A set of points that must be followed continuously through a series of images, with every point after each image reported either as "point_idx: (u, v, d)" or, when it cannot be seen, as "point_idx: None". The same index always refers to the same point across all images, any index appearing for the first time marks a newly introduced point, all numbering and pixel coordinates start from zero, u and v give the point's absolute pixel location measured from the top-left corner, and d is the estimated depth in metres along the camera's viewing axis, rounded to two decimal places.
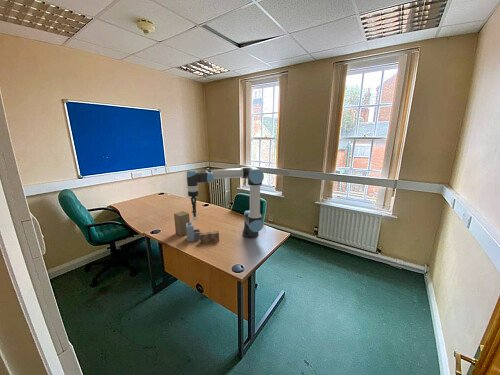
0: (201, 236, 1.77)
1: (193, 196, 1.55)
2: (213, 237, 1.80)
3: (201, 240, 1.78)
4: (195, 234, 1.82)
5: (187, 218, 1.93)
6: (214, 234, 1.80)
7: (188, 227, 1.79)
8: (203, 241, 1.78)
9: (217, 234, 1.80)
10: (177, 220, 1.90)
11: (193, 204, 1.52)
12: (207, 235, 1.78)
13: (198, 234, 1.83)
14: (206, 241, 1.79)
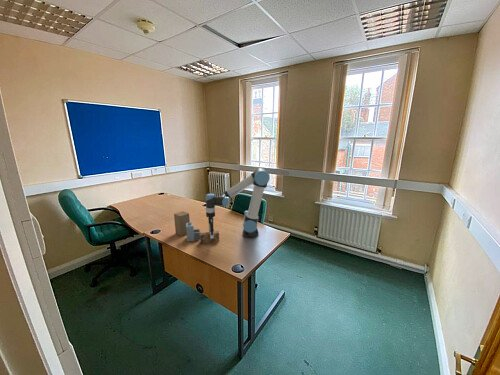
0: (201, 236, 1.77)
1: (211, 217, 1.73)
2: None
3: (201, 240, 1.78)
4: (195, 234, 1.82)
5: (187, 218, 1.93)
6: (214, 234, 1.80)
7: (188, 227, 1.79)
8: (203, 241, 1.78)
9: (217, 234, 1.80)
10: (177, 220, 1.90)
11: (211, 224, 1.71)
12: (207, 235, 1.78)
13: (198, 234, 1.83)
14: (206, 241, 1.79)
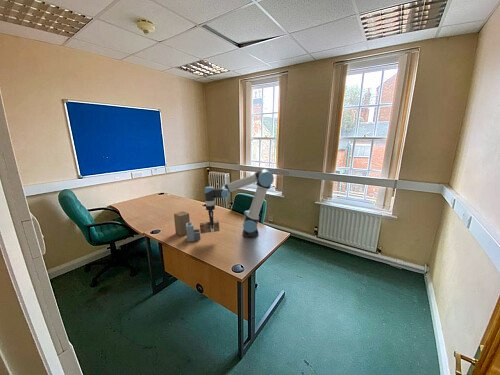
0: (201, 226, 1.75)
1: (211, 210, 1.72)
2: None
3: (201, 230, 1.75)
4: (195, 234, 1.82)
5: (187, 218, 1.93)
6: (214, 224, 1.77)
7: (188, 227, 1.79)
8: (203, 231, 1.76)
9: (217, 224, 1.78)
10: (177, 220, 1.90)
11: (211, 218, 1.71)
12: (207, 225, 1.76)
13: (198, 234, 1.83)
14: (206, 231, 1.77)
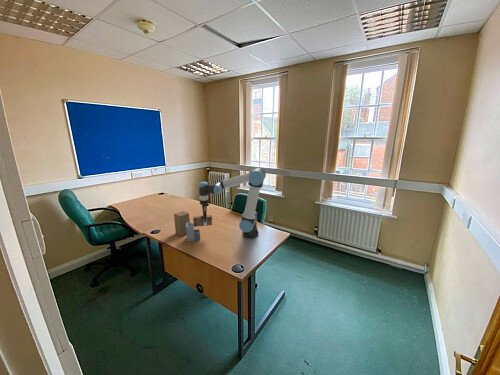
0: (194, 219, 1.81)
1: (204, 204, 1.79)
2: None
3: (194, 223, 1.82)
4: (195, 234, 1.82)
5: (187, 218, 1.93)
6: (207, 218, 1.84)
7: (188, 227, 1.79)
8: (196, 224, 1.83)
9: (210, 218, 1.85)
10: (177, 220, 1.90)
11: (204, 212, 1.78)
12: (200, 218, 1.82)
13: (198, 234, 1.83)
14: (199, 224, 1.83)
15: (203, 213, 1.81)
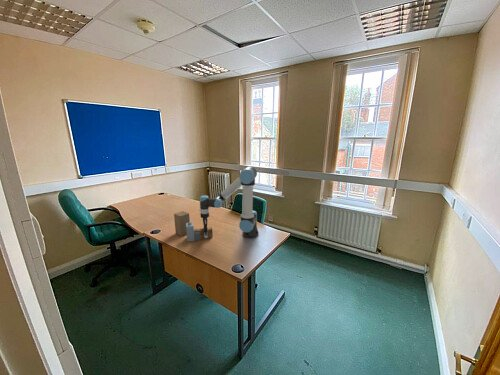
0: None
1: (205, 218, 1.82)
2: (207, 233, 1.87)
3: None
4: (195, 234, 1.82)
5: (187, 218, 1.93)
6: (208, 230, 1.87)
7: (188, 227, 1.79)
8: None
9: (210, 230, 1.88)
10: (177, 220, 1.90)
11: (205, 226, 1.81)
12: (201, 231, 1.85)
13: (198, 234, 1.83)
14: (200, 237, 1.86)
15: (204, 226, 1.84)
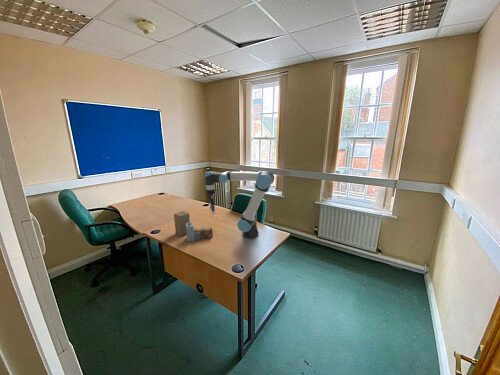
0: None
1: (211, 194, 1.79)
2: (207, 233, 1.87)
3: None
4: (195, 234, 1.82)
5: (187, 218, 1.93)
6: (208, 230, 1.87)
7: (188, 227, 1.79)
8: None
9: (211, 230, 1.88)
10: (177, 220, 1.90)
11: (211, 200, 1.76)
12: (201, 231, 1.85)
13: (198, 234, 1.83)
14: (200, 237, 1.87)
15: (210, 202, 1.78)
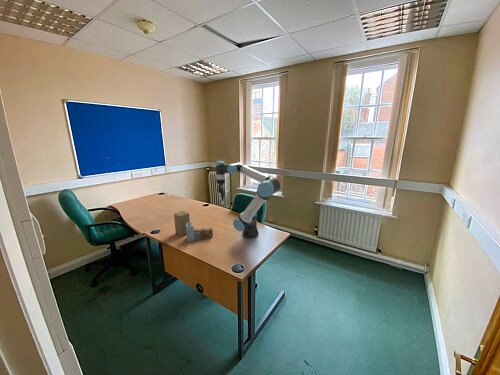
0: None
1: (221, 183, 1.81)
2: (207, 233, 1.87)
3: None
4: (195, 234, 1.82)
5: (187, 218, 1.93)
6: (208, 230, 1.87)
7: (188, 227, 1.79)
8: None
9: (211, 230, 1.88)
10: (177, 220, 1.90)
11: (221, 190, 1.78)
12: (201, 231, 1.85)
13: (198, 234, 1.83)
14: (200, 237, 1.87)
15: (220, 191, 1.80)
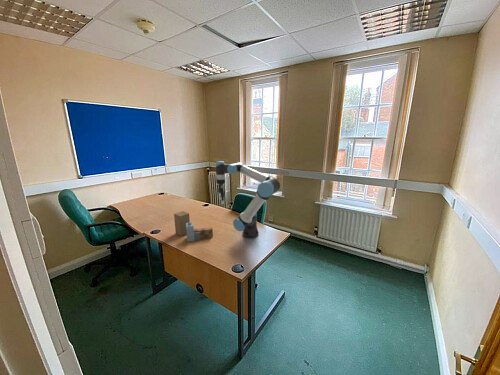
0: None
1: (221, 183, 1.81)
2: (207, 233, 1.87)
3: None
4: (195, 234, 1.82)
5: (187, 218, 1.93)
6: (208, 230, 1.87)
7: (188, 227, 1.79)
8: None
9: (211, 230, 1.88)
10: (177, 220, 1.90)
11: (221, 190, 1.78)
12: (201, 231, 1.85)
13: (198, 234, 1.83)
14: (200, 237, 1.87)
15: (220, 191, 1.80)
